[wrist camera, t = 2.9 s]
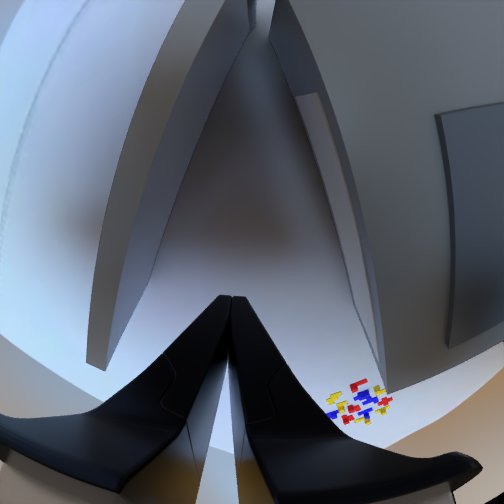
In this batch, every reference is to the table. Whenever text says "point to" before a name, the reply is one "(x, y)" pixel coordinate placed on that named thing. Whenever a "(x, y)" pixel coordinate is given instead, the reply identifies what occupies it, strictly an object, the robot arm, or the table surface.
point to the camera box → (408, 166)
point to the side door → (159, 158)
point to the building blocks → (351, 409)
